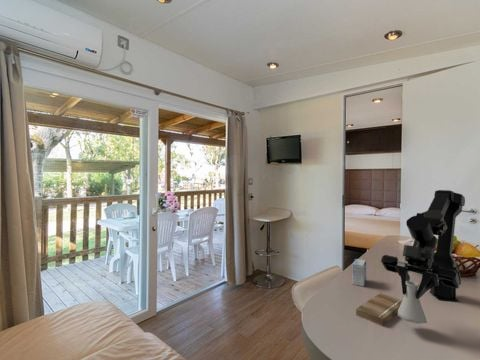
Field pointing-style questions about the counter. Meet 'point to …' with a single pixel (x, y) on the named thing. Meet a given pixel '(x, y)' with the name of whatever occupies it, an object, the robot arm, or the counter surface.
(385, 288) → the counter surface
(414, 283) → the flask
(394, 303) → the walnut board
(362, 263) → the medicine box
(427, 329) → the counter surface
